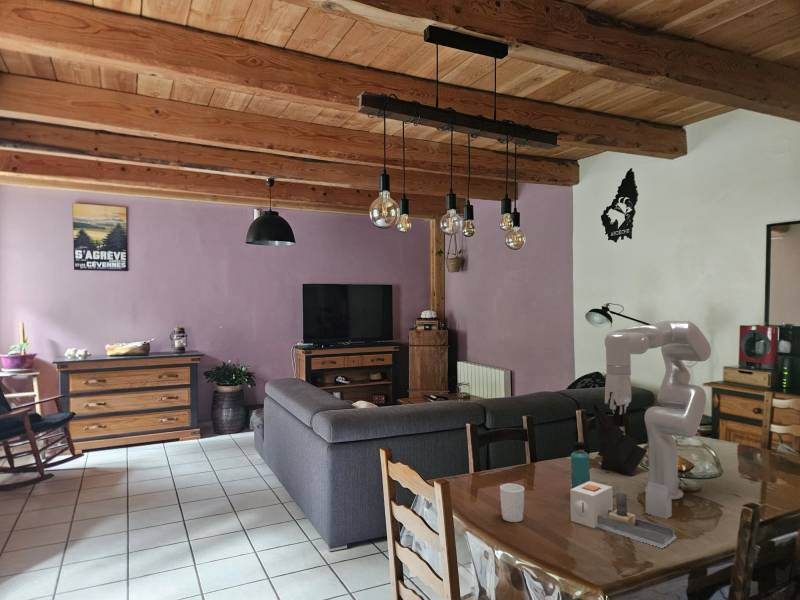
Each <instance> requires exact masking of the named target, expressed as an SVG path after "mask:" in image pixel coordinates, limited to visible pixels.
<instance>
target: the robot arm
mask: <svg viewBox="0 0 800 600" xmlns="http://www.w3.org/2000/svg"><path fill="white" fill-rule="evenodd" d="M709 342H710V341H708V339H707V338H706V336H705V335H704V333H703V332H702V331H701V329H700V328H699V327H698V325H696V324H695V323H694V322H692V321H689V320H664V321H660V322H659V321H658V322H655V323H652V324H647V325H641V326H639V325H638V326H636V327H635V326H633V327H627V328H622V329H621V328H620V329H616V330H612V331H610V332H608V334H607V335H606V336H605V338H604V346H605V358H606V359H605V361H606V363H605V364H606V370H605V371H606V376H605V385H604V404H605V405H609V410H612V413H613V420H614V422H613V423H614V425H617V426H618V427H625V426H626V423H627V422H626V413H627V407H629V404H630V403H631V402H632V397H633V396H632V382H631V375H632V371H631V370H632V369H631V368H632V367H631V366H632V365H631V364H632V363H631V362H632V361H631V355H642V354H645V353H646V352H647V351H648V350H649V349H650V350H651V349H657V348H660V349H661V350H660V351H661V355H662V358H663V361H664V366H665V373H664V376H663V379H662V382H661V384H660V387H659V390H658V393H657V402H658V403H659V404H660V405H661V406H658V405H657V406H651V407H648V409H646V411H645V412H644V413H645V414H644V424H645V428H646V433H647V434H646V435H647V446H648V451H647V453H648V482H651V483H654V484H658V485H662V486H666V487H669V491H670V495H671V500H680V499H682V498H683V497H684V492H683V491H682V490H681V489H680V488H679V484H680V483H681V479H680V478H679V468H678V464H679V463H678V445H677V443H676V440H675V439H674V437H673V436H675V437H681V438H687V439H689V438H693V437H695V435H696V434H697V432H698V430H699V428H700V425H701V421H702V419H703V418H702V417H703V415H704V412H705V409H706V405H707V394H706V392H705V389H704V388H703V387H701V386H700V385H696V384H691V383H690V381H691V373H690V371H689V370H688V368H687V367H686V366H685V364H684V363H683V361H686V362H687V361H689V362H701V363H702V362H706V361H707V360H708V359H710V357H711V354H712V348H711V345H710V343H709ZM646 490H647V485H646V486H645V487H644V492H645V493H646Z"/></svg>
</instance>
